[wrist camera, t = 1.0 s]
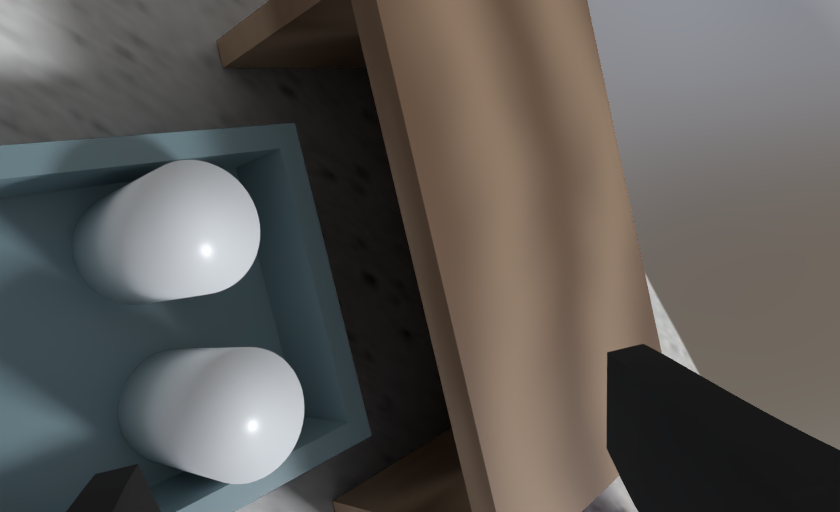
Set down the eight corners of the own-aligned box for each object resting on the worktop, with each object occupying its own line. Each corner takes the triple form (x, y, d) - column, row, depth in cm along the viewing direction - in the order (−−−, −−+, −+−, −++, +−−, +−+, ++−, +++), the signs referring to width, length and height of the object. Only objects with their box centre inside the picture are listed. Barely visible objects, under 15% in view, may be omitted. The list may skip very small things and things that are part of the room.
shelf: (338, 525, 25) (511, 579, 19) (216, 41, 23) (360, -70, 17) (516, 408, 33) (675, 420, 27) (433, 47, 32) (581, -26, 26)
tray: (-66, 616, 16) (-28, 691, 12) (-193, 192, 15) (-192, 141, 12) (313, 427, 24) (402, 439, 21) (243, 147, 24) (322, 109, 20)
